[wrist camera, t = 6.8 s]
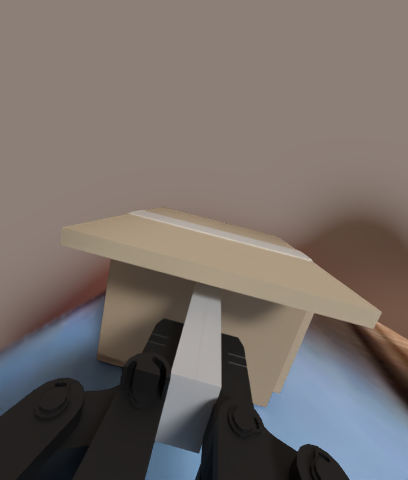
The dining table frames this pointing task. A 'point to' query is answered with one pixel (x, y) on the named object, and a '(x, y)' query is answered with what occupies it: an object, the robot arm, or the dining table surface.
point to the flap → (221, 260)
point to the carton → (176, 308)
